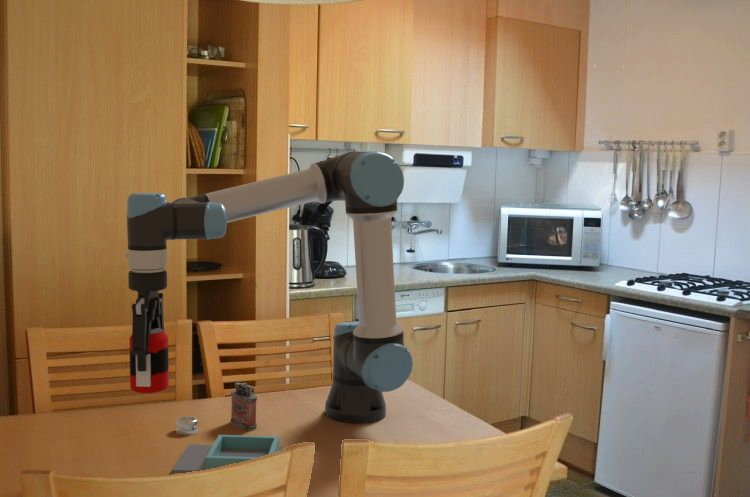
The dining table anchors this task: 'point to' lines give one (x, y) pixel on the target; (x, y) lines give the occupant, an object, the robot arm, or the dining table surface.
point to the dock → (226, 452)
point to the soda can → (153, 363)
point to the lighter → (243, 407)
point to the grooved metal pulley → (187, 425)
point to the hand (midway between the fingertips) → (149, 380)
